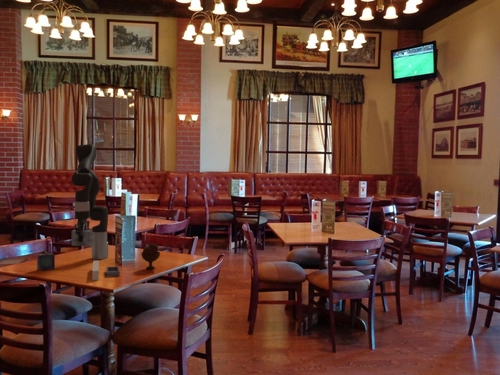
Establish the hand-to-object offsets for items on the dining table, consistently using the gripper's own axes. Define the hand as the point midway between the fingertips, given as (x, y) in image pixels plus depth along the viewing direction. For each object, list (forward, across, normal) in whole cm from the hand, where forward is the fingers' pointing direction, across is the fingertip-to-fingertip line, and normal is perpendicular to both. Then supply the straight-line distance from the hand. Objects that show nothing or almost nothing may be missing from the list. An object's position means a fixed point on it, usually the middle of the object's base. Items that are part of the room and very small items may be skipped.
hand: (82, 240), depth 245 cm
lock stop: (+2, 0, 0) cm, 2 cm away
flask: (+19, -8, -25) cm, 33 cm away
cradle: (+19, -6, +15) cm, 25 cm away
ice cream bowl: (+19, -19, +32) cm, 42 cm away
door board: (+19, -2, +7) cm, 20 cm away
